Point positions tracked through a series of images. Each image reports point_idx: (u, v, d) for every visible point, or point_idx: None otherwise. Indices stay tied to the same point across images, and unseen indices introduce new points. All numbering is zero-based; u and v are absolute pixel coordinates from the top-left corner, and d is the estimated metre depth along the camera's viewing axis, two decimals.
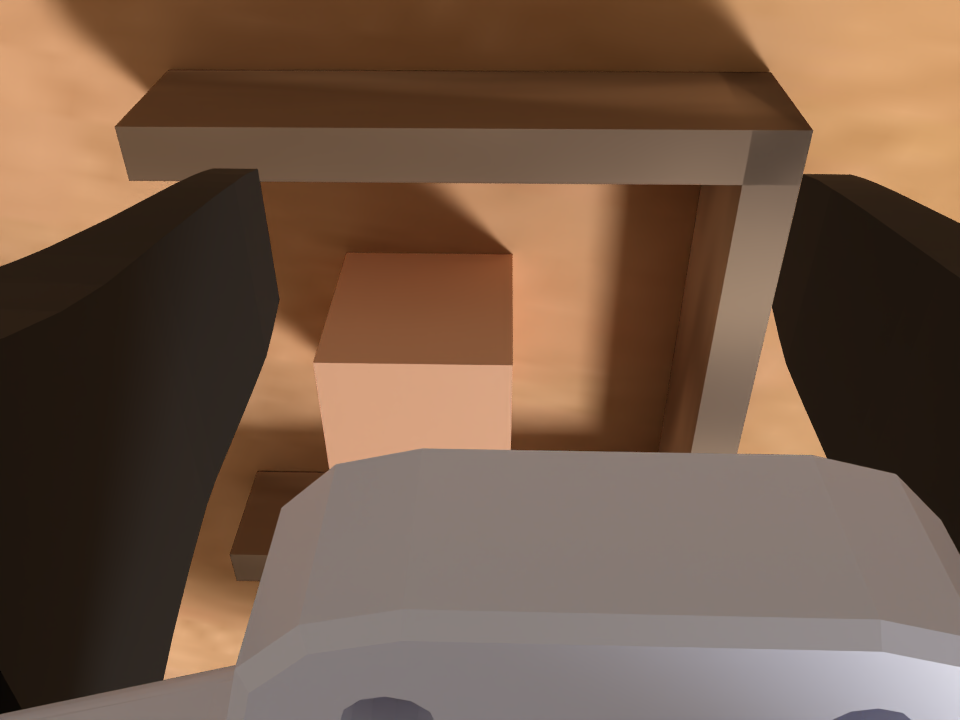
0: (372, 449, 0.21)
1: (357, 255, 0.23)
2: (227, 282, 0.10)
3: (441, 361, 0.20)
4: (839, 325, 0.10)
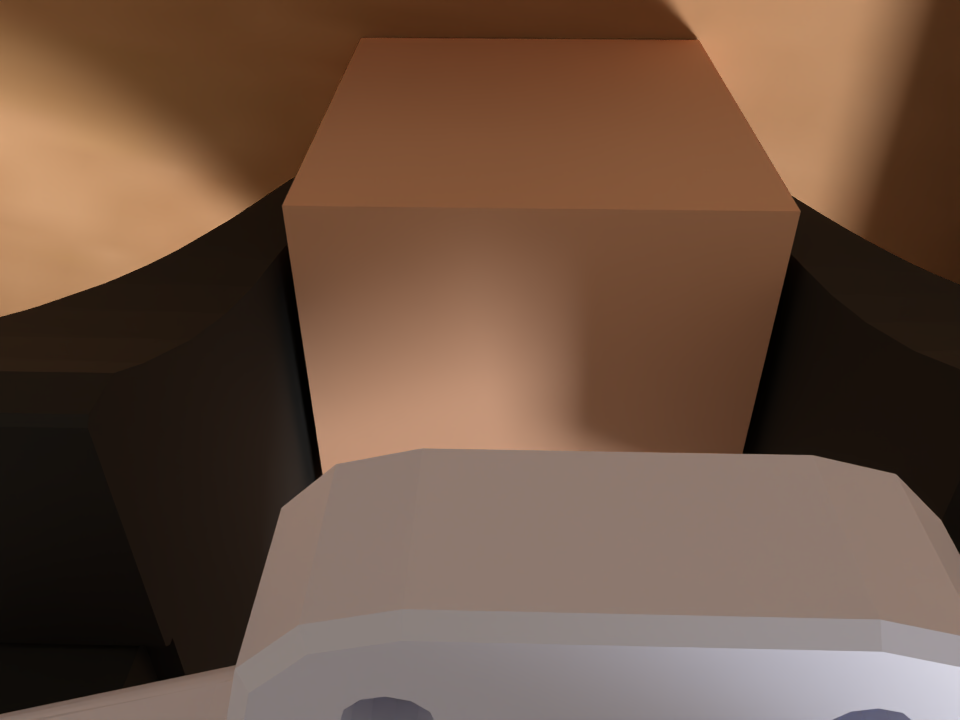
0: (423, 433, 0.09)
1: (383, 42, 0.11)
2: None
3: (610, 203, 0.08)
4: None
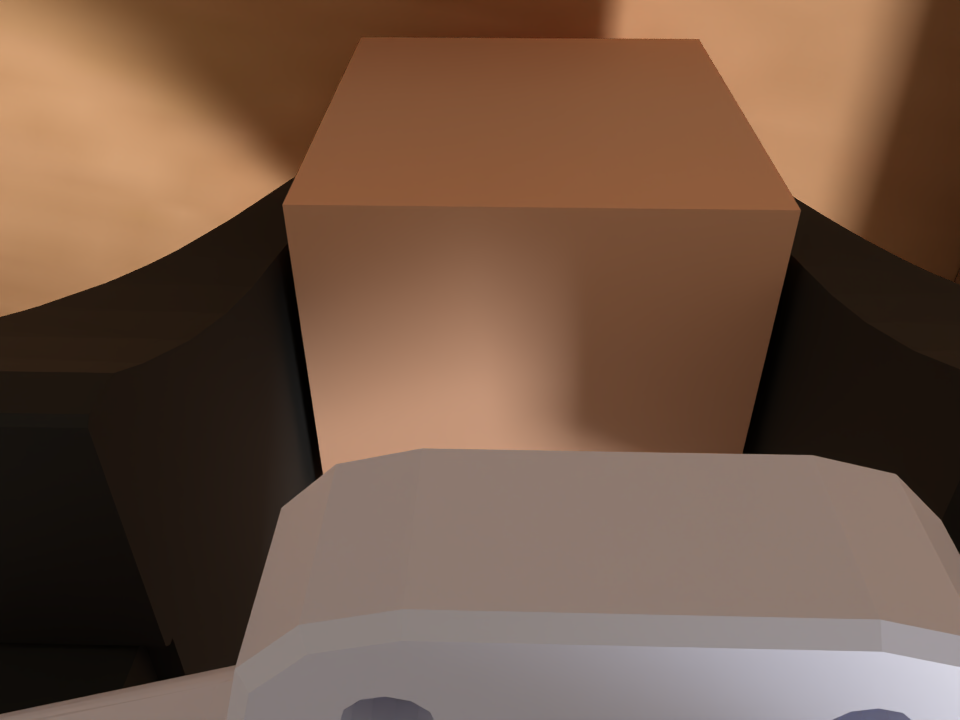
0: (424, 433, 0.09)
1: (383, 41, 0.11)
2: None
3: (612, 202, 0.08)
4: None
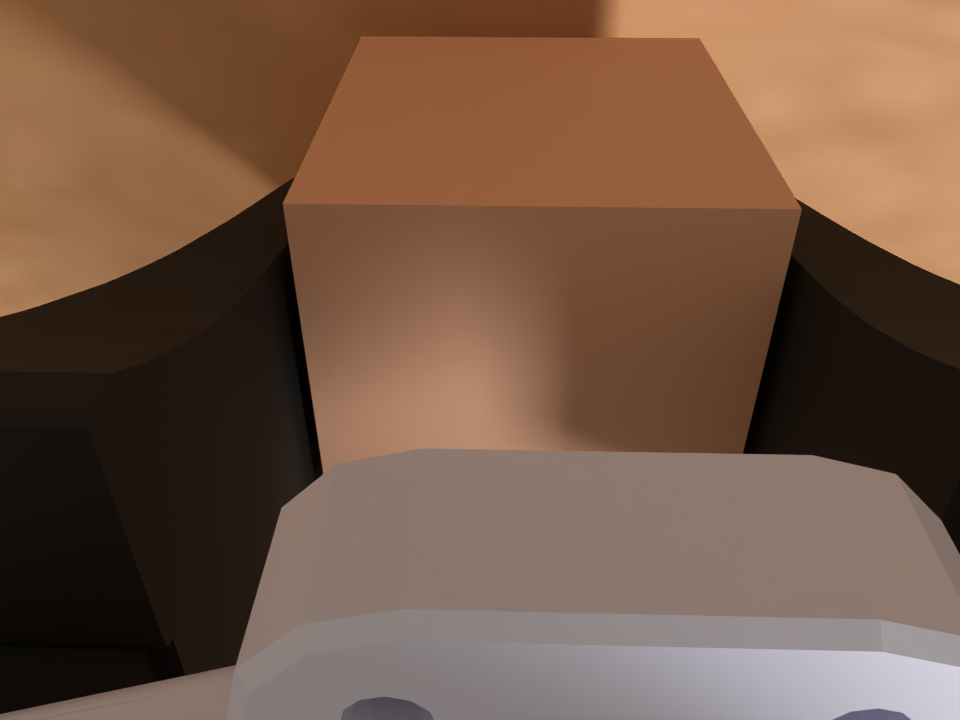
0: (423, 432, 0.09)
1: (383, 40, 0.11)
2: None
3: (612, 201, 0.08)
4: None
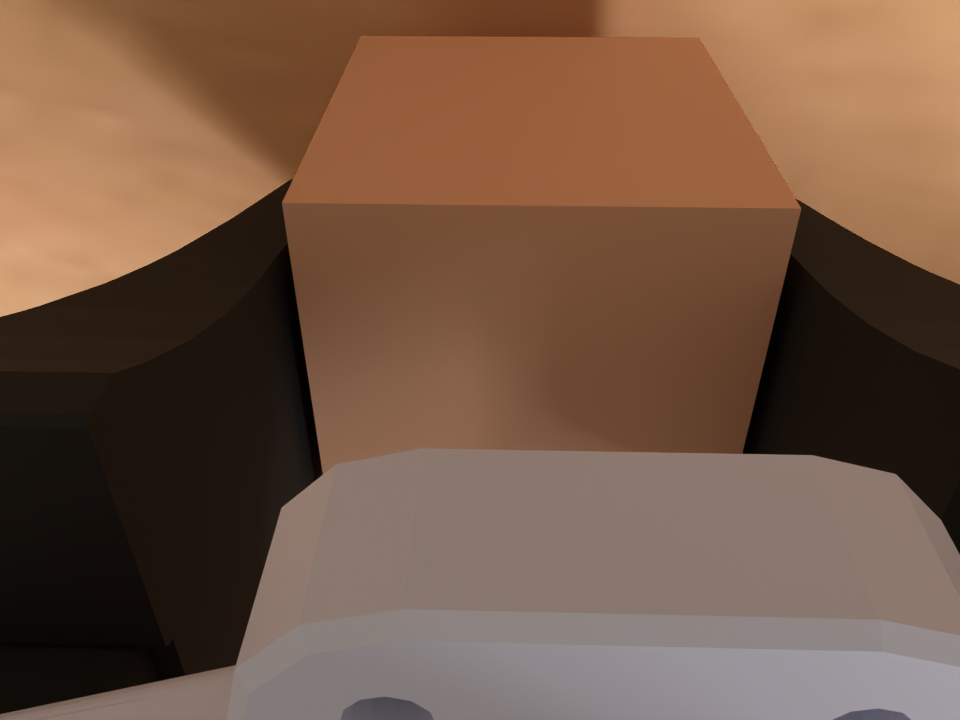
0: (424, 432, 0.09)
1: (383, 40, 0.11)
2: None
3: (612, 200, 0.08)
4: None
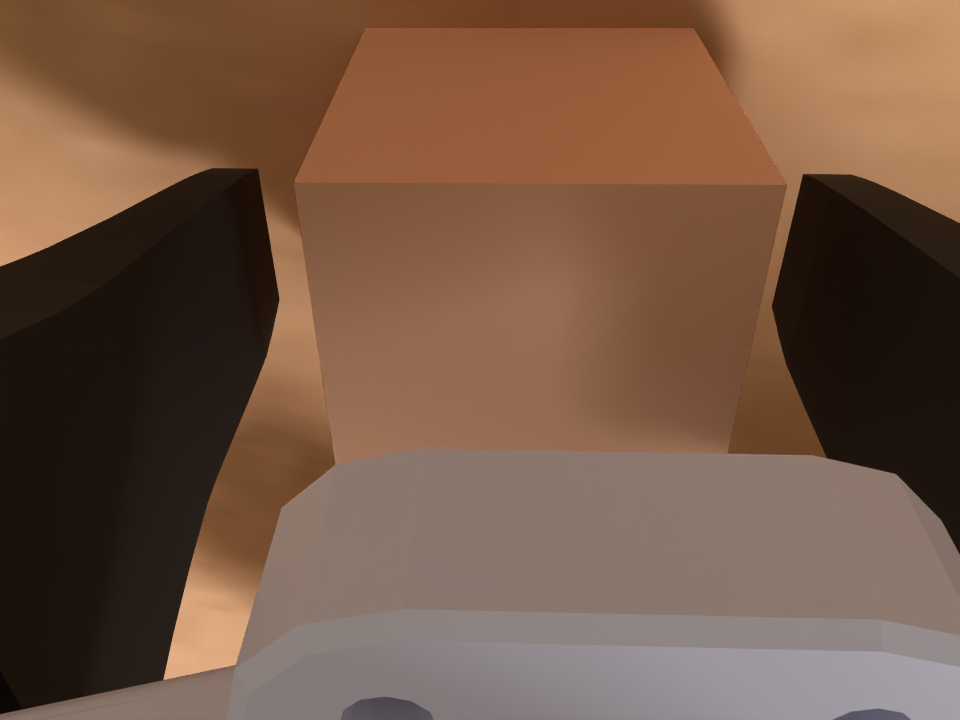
0: (429, 403, 0.10)
1: (387, 30, 0.12)
2: (227, 282, 0.10)
3: (606, 179, 0.08)
4: (839, 325, 0.10)
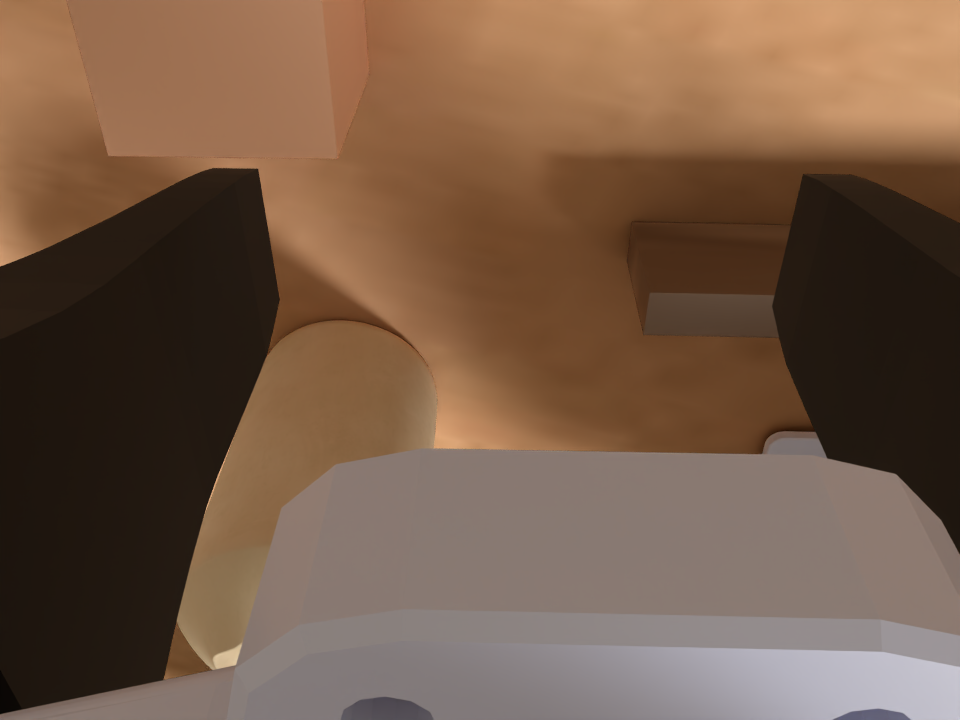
0: (144, 59, 0.16)
1: None
2: (227, 282, 0.10)
3: None
4: (839, 325, 0.10)
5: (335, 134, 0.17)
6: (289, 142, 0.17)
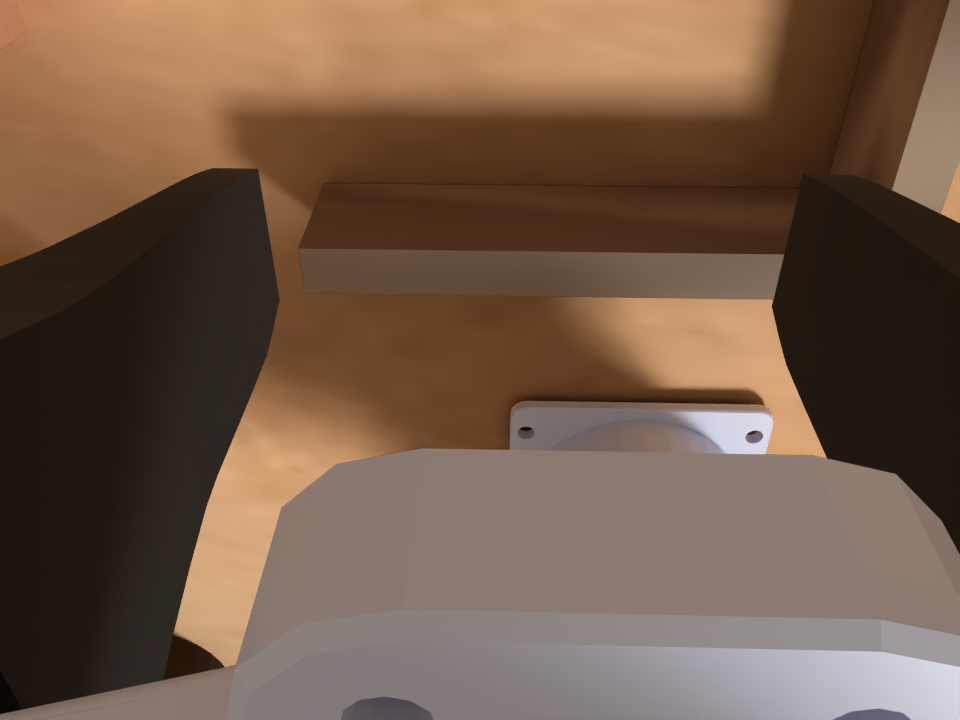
0: None
1: None
2: (227, 282, 0.10)
3: None
4: (839, 325, 0.10)
5: None
6: None
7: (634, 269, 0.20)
